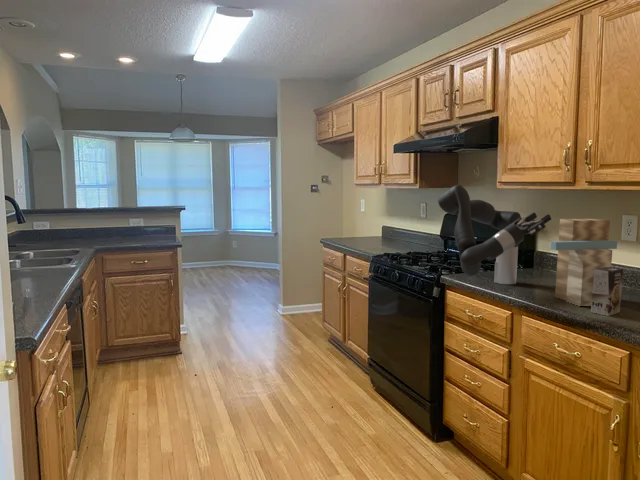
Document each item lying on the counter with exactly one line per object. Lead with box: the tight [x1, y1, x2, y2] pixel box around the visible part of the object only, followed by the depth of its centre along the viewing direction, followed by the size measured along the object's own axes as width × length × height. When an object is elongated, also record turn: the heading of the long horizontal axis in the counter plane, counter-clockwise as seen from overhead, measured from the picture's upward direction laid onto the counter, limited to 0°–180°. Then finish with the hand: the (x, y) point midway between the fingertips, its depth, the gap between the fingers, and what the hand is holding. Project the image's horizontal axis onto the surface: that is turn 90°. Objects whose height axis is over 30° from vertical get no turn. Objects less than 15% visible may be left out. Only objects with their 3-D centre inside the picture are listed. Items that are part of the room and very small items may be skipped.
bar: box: [550, 239, 618, 251], centre depth 186 cm, size 26×3×3 cm, turn 100°
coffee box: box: [590, 267, 624, 317], centre depth 176 cm, size 9×6×16 cm
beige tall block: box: [565, 249, 613, 307], centre depth 188 cm, size 12×8×22 cm, turn 100°
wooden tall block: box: [554, 218, 611, 301], centre depth 196 cm, size 16×8×32 cm, turn 100°
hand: (542, 215), depth 181 cm, fingers open, 8 cm apart
